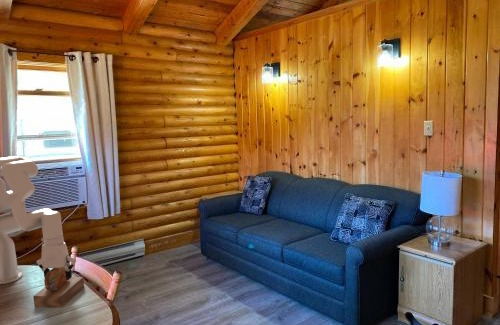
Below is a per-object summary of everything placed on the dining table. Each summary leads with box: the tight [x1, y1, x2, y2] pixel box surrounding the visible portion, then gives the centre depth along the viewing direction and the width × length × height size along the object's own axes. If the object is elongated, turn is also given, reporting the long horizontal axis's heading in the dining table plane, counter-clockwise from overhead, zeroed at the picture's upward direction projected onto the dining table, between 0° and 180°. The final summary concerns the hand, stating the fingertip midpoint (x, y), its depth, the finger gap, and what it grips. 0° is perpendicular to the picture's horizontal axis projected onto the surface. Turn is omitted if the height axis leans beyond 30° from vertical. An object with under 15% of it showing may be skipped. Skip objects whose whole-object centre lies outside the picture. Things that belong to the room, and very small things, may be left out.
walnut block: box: [32, 276, 85, 309], centre depth 174 cm, size 12×18×5 cm, turn 174°
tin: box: [43, 265, 68, 291], centre depth 173 cm, size 15×3×8 cm, turn 174°
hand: (58, 278), depth 173 cm, fingers open, 9 cm apart
